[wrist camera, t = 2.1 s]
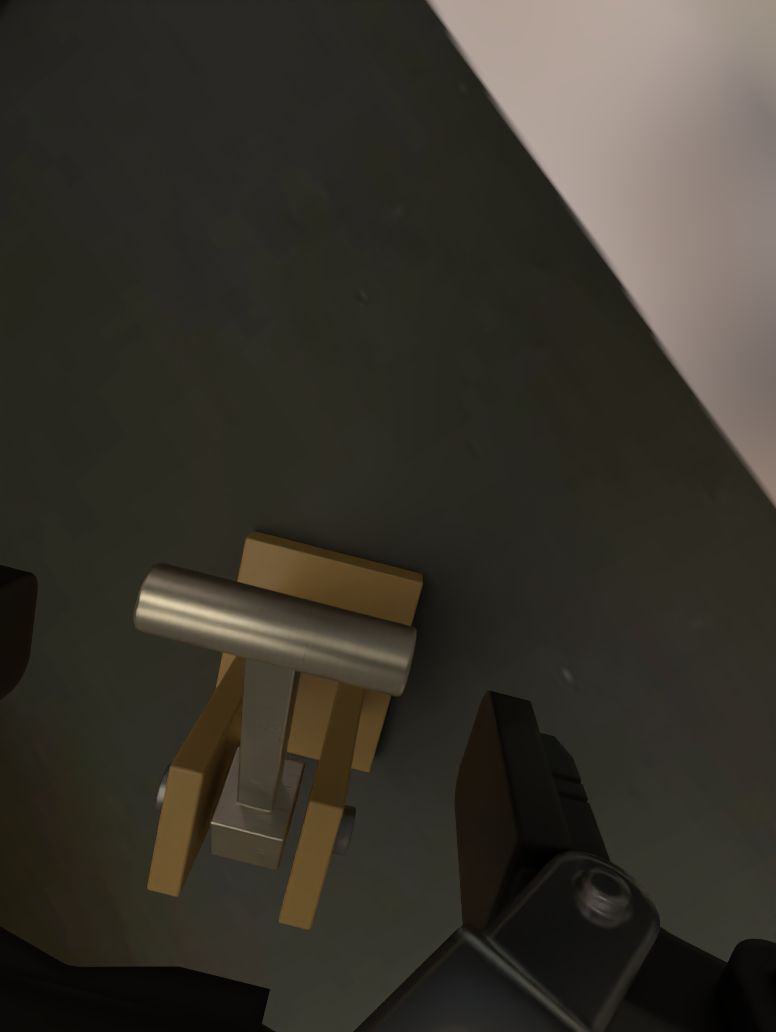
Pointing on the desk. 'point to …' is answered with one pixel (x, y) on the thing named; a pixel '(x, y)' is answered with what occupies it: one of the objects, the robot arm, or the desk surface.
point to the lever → (269, 684)
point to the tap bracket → (314, 731)
